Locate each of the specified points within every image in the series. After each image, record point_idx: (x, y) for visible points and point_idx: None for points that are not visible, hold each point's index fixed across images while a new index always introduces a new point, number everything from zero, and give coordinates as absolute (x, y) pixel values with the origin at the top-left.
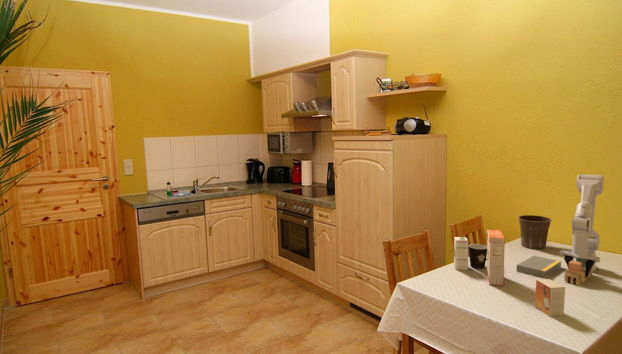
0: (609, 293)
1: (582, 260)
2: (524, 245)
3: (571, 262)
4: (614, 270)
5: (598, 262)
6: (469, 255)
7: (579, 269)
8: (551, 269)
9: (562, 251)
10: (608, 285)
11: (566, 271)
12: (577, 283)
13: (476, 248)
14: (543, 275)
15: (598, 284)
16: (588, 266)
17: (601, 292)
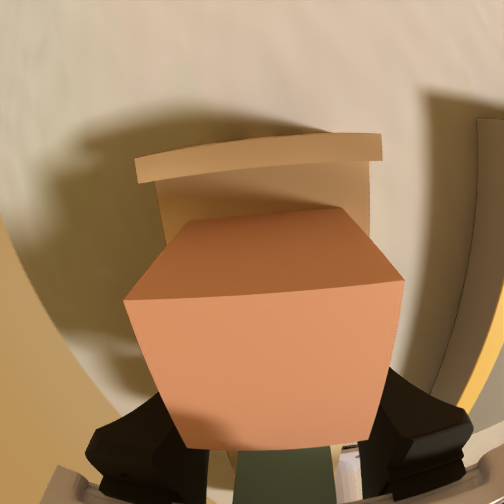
0: (9, 173)
1: (274, 499)
2: None
3: (346, 327)
4: (211, 494)
5: (58, 467)
6: None
7: (167, 253)
8: (486, 291)
9: (498, 498)
10: (84, 326)
11: (347, 135)
12: (203, 144)
13: None
14: (497, 119)
15: (119, 301)
16: (144, 416)
17: (33, 142)
